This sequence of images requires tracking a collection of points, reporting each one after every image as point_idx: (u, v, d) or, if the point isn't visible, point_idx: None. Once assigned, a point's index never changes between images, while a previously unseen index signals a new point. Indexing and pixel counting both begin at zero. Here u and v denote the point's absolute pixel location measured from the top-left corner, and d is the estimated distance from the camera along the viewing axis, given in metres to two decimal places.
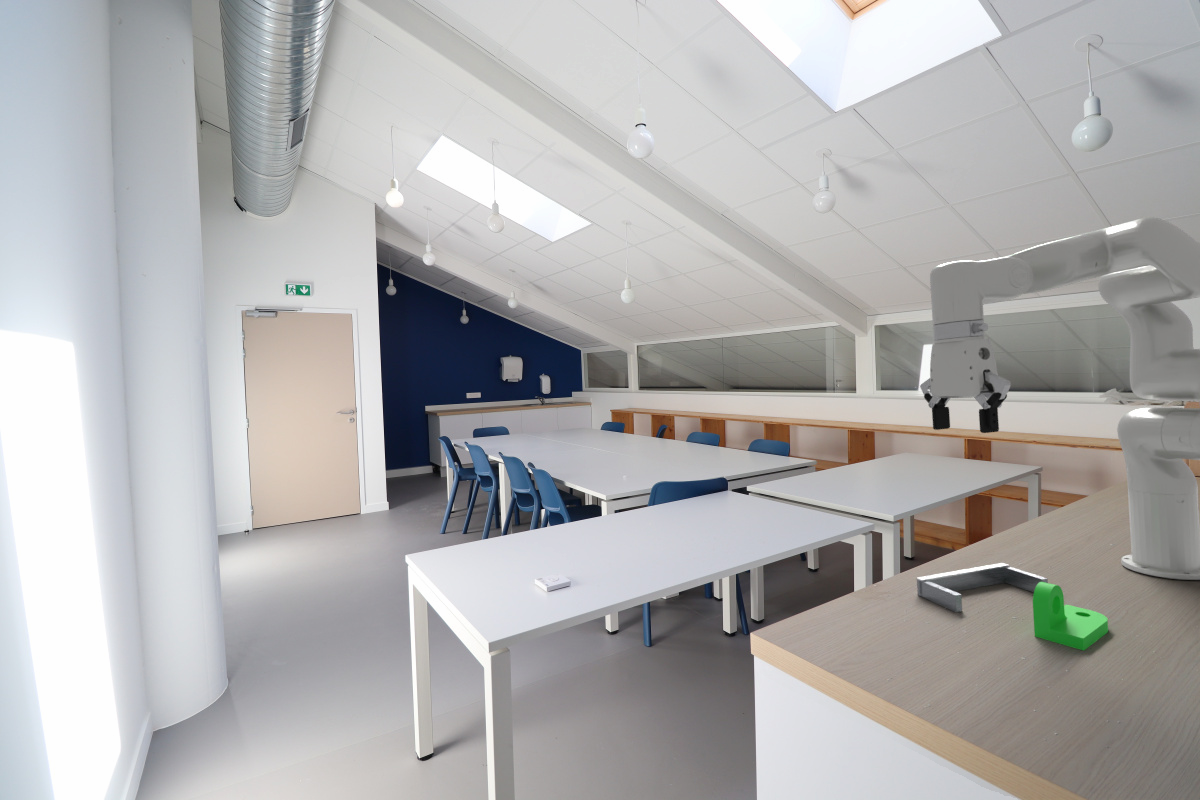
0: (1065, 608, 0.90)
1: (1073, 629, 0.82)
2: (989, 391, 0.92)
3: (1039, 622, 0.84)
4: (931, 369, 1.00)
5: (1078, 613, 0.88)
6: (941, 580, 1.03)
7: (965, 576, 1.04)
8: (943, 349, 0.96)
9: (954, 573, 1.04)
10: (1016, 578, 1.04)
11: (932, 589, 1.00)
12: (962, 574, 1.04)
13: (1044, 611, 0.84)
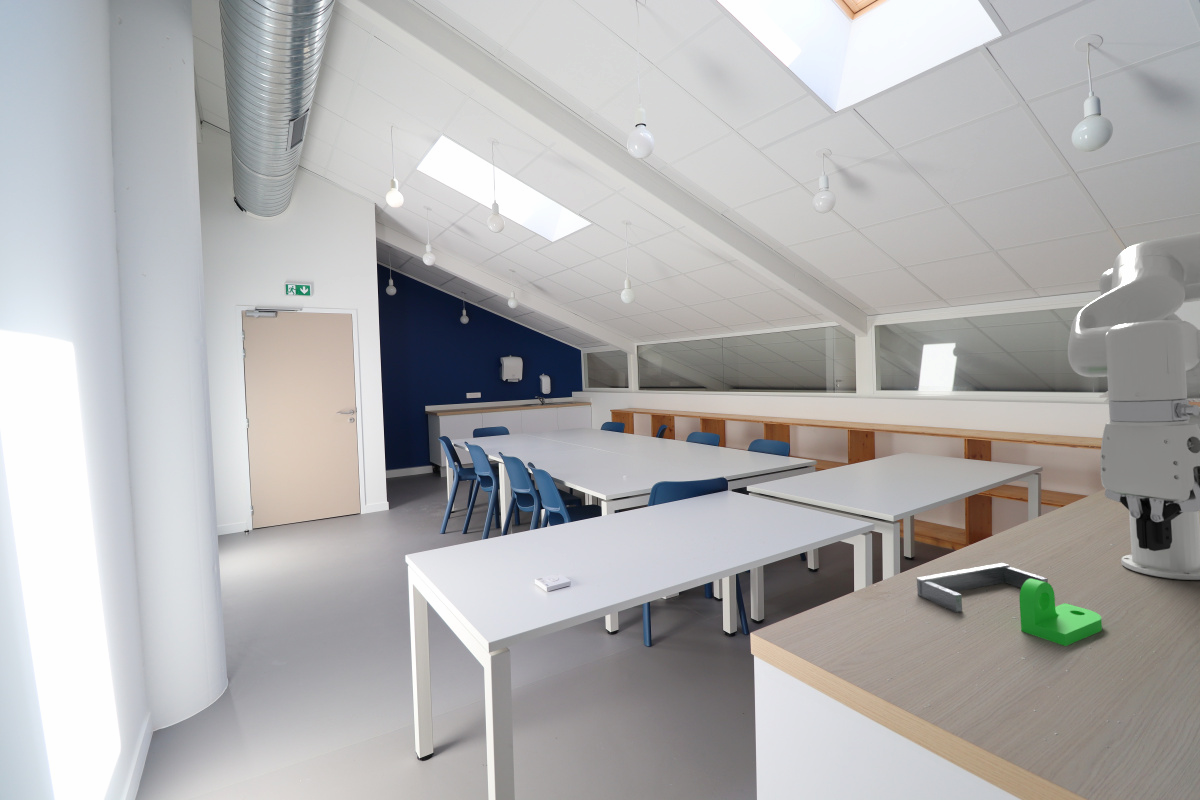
0: (1062, 606, 0.90)
1: (1059, 626, 0.84)
2: None
3: (1025, 617, 0.86)
4: (1103, 455, 0.78)
5: (1073, 611, 0.89)
6: (941, 580, 1.03)
7: (965, 576, 1.04)
8: (1126, 433, 0.74)
9: (954, 573, 1.04)
10: (1016, 578, 1.04)
11: (932, 589, 1.00)
12: (962, 574, 1.04)
13: (1029, 607, 0.85)
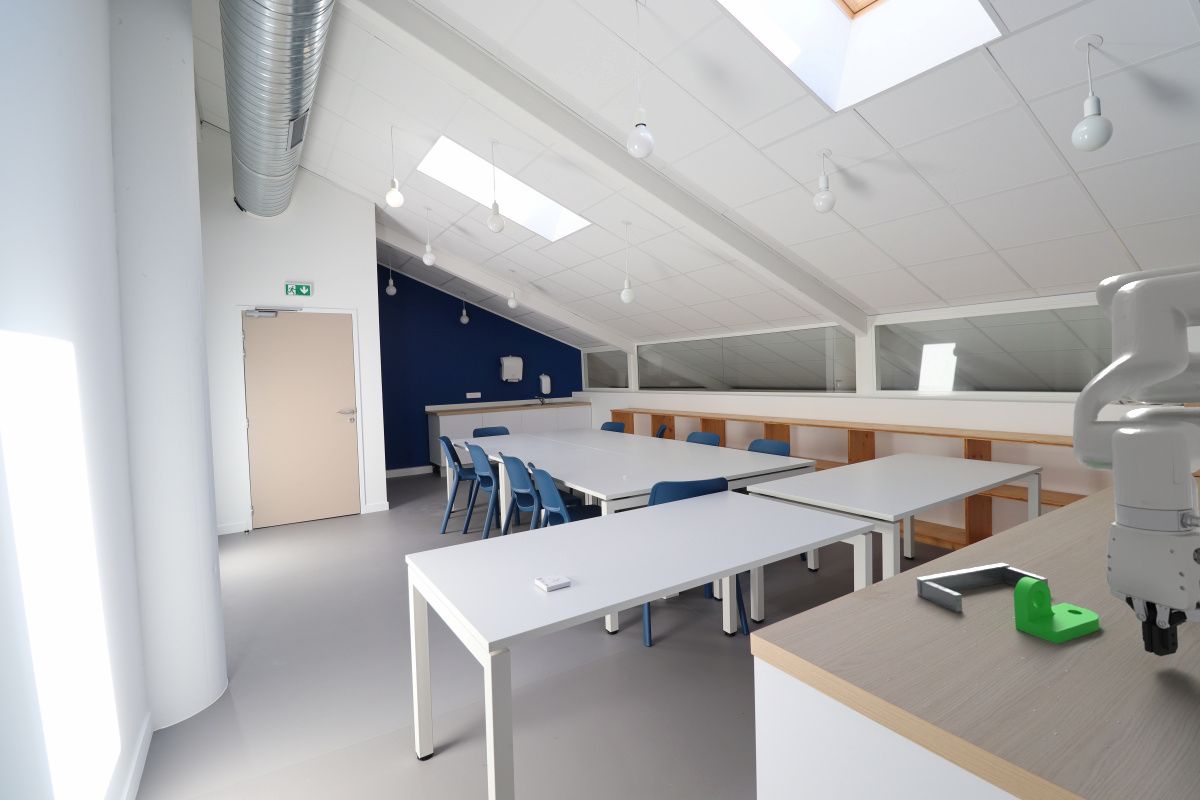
0: (1060, 605, 0.91)
1: (1053, 624, 0.85)
2: None
3: (1019, 614, 0.87)
4: (1109, 555, 0.78)
5: (1072, 611, 0.89)
6: (941, 580, 1.03)
7: (965, 576, 1.04)
8: (1132, 537, 0.74)
9: (954, 573, 1.04)
10: (1016, 578, 1.04)
11: (932, 589, 1.00)
12: (962, 574, 1.04)
13: (1023, 604, 0.86)
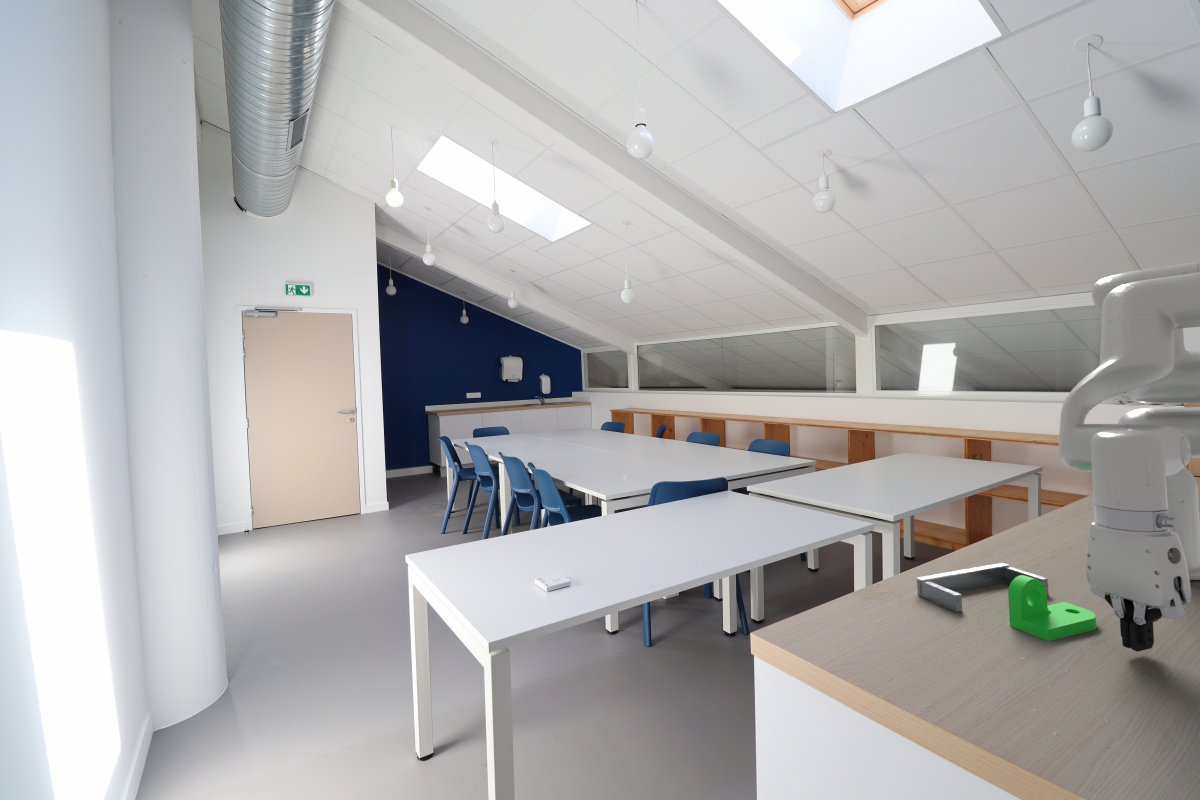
0: (1059, 605, 0.91)
1: (1046, 621, 0.85)
2: None
3: (1013, 612, 0.88)
4: (1089, 554, 0.81)
5: (1070, 610, 0.89)
6: (941, 580, 1.03)
7: (965, 576, 1.04)
8: (1110, 537, 0.77)
9: (954, 573, 1.04)
10: None
11: (932, 589, 1.00)
12: (962, 574, 1.04)
13: (1017, 602, 0.87)
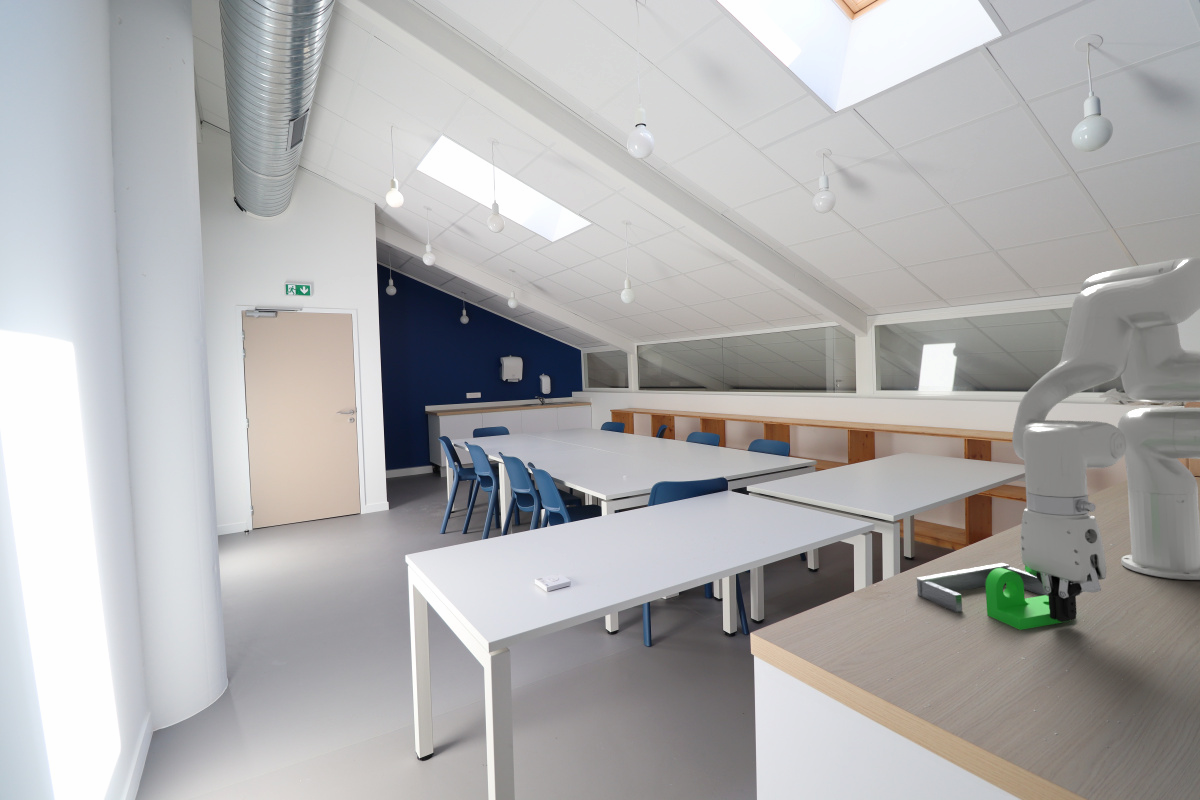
0: (1039, 597, 0.94)
1: (1020, 612, 0.89)
2: None
3: (990, 602, 0.92)
4: (1022, 537, 0.90)
5: (1048, 602, 0.93)
6: (941, 580, 1.03)
7: (965, 576, 1.04)
8: (1039, 521, 0.87)
9: (954, 573, 1.04)
10: None
11: (932, 589, 1.00)
12: (962, 574, 1.04)
13: (993, 593, 0.92)
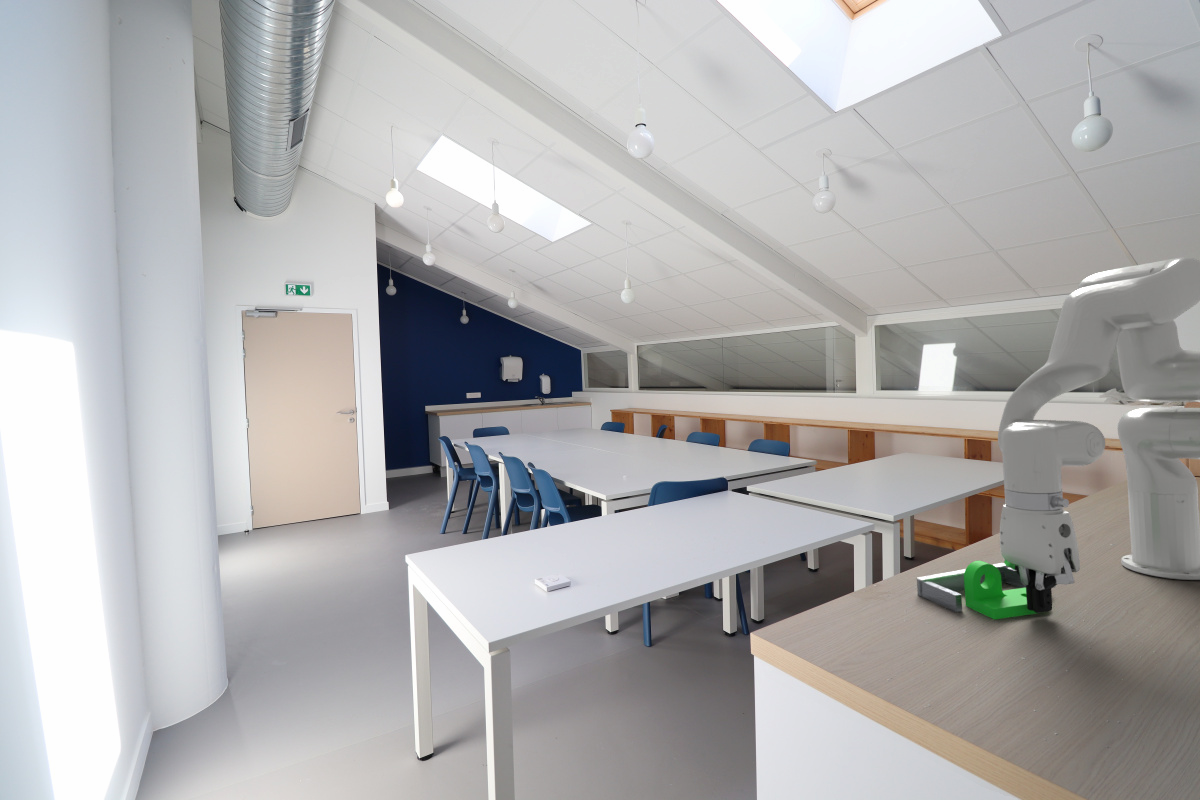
0: (1018, 589, 0.98)
1: (996, 603, 0.93)
2: None
3: (968, 593, 0.97)
4: (1001, 531, 0.94)
5: None
6: (941, 580, 1.03)
7: None
8: (1017, 516, 0.91)
9: (954, 573, 1.04)
10: (1016, 578, 1.04)
11: (932, 589, 1.00)
12: (962, 574, 1.04)
13: (970, 584, 0.96)
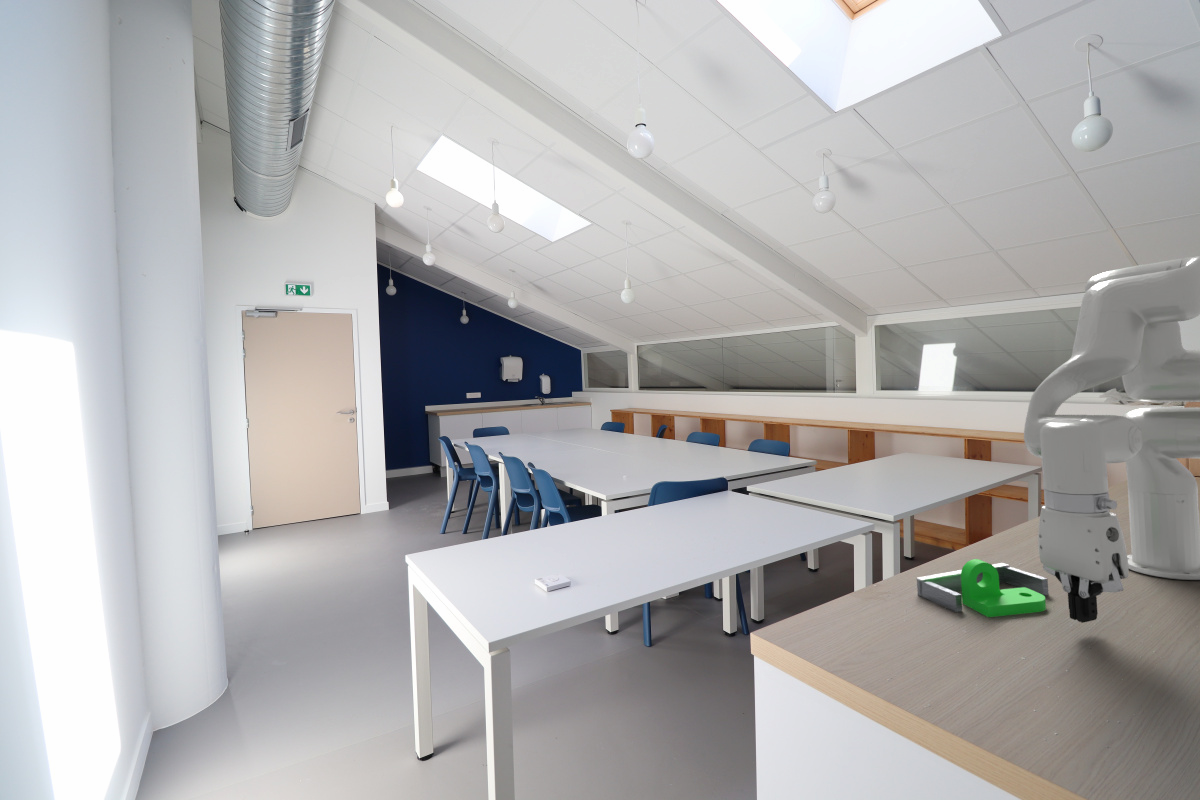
0: (1017, 589, 0.98)
1: (992, 601, 0.94)
2: None
3: (964, 591, 0.98)
4: (1040, 535, 0.88)
5: (1024, 594, 0.97)
6: (941, 580, 1.03)
7: None
8: (1058, 519, 0.84)
9: (954, 573, 1.04)
10: (1016, 578, 1.04)
11: (932, 589, 1.00)
12: None
13: (967, 582, 0.97)
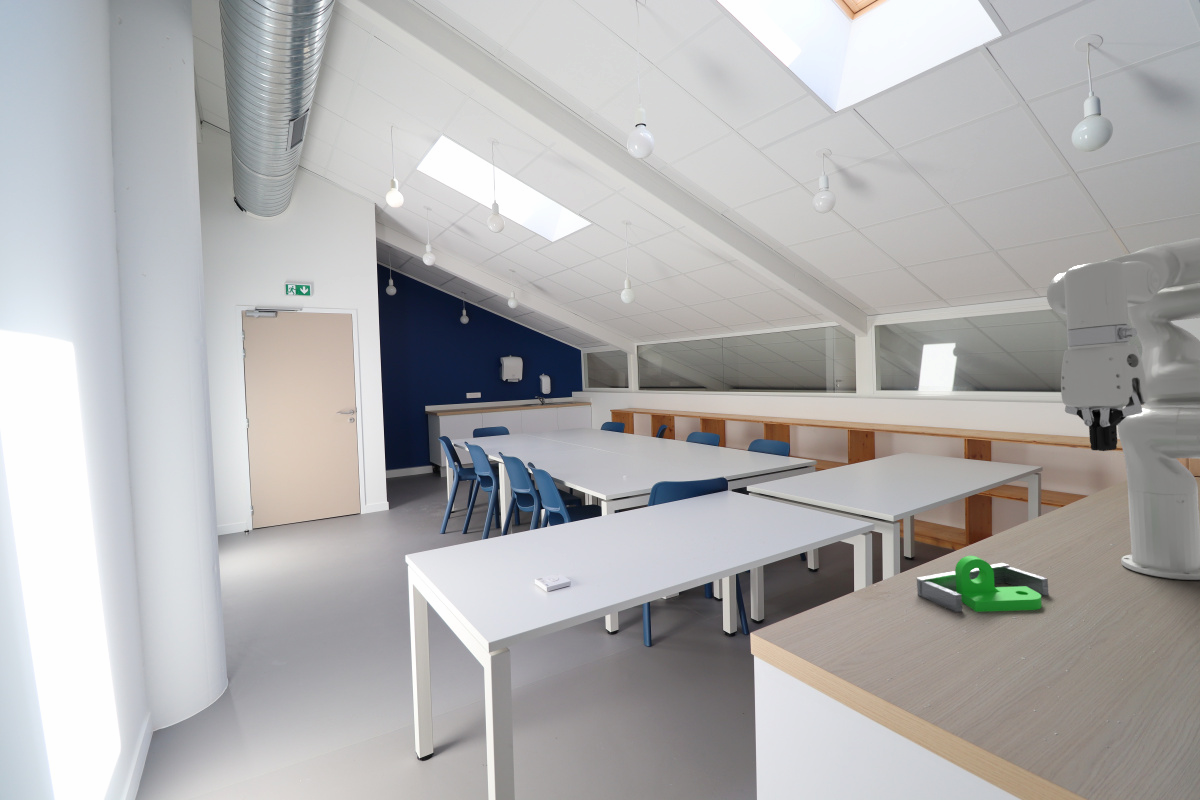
0: (1016, 587, 0.99)
1: (983, 596, 0.96)
2: (1120, 408, 0.88)
3: (958, 586, 1.00)
4: (1063, 377, 0.94)
5: (1022, 592, 0.97)
6: (941, 580, 1.03)
7: None
8: (1081, 355, 0.90)
9: (954, 573, 1.04)
10: (1016, 578, 1.04)
11: (932, 589, 1.00)
12: None
13: (959, 577, 0.99)
